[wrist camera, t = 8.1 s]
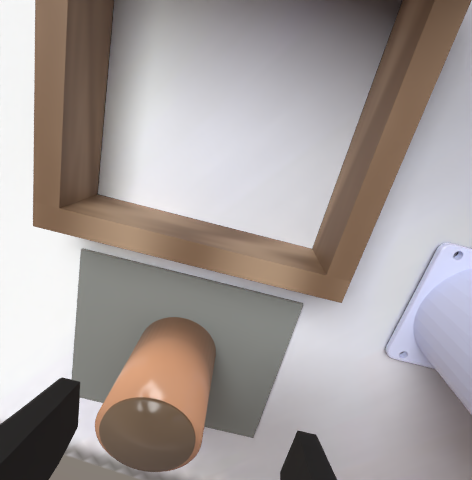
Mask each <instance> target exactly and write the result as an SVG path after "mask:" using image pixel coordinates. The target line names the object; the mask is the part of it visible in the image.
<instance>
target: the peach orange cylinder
mask: <svg viewBox="0 0 472 480" xmlns="http://www.w3.org/2000/svg"><path fill="white" fill-rule="evenodd" d="M215 357H216V347H215V344H214V341H213V339H212V337H211V335H210V334H209V333H208V332H207V331H206V330H205V329H204V328H203V327H202V326H200V325H199V324H197V323H196V322H193V321H191V320H188V319H185V318H180V317H168V318H163V319H160V320H157V321H155V322H153V323H152V324H150V325H149V326H148V327H147V328H146V329H145V331H144V332H143V334H142V335H141V337H140V339H139V341H138V343H137V344H136V346H135V348H134V350H133V352H132V353H131V355H130V357H129V359H128V360H127V362H126V364H125V366H124V368H123V369H122V371H121V373H120V375H119V376H118V378H117V380H116V382H115V384H114V385H113V387H112V389H111V391H110V392H109V394H108V396H107V398H106V400H105V401H104V403H103V405H102V407H101V408H100V410H99V412H98V414H97V417H96V421H95V431H96V435H97V438H98V440H99V442H100V444H101V445H102V447H103V448H104V449H105V450H106V451H107V452H108V453H109V454H110V455H111V456H112V457H113V458H115V459H116V460H117V461H119V462H121V463H122V464H124V465H126V466H129V467H131V468H134V469H137V470H142V471H148V472H162V471H170V470H174V469H177V468H180V467H182V466H184V465H186V464H187V463H189V462H190V461H191V460H192V459H193V458H194V457H195V456H196V455H197V453H198V452H199V449H200V447H201V443H202V437H203V430H204V424H205V418H206V412H207V406H208V400H209V394H210V388H211V381H212V375H213V369H214V363H215Z"/></svg>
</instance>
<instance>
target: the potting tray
mask: <svg viewBox="0 0 472 480" xmlns="http://www.w3.org/2000/svg"><path fill="white" fill-rule="evenodd" d="M470 2H471V0H403V1H402V3H401V6H400V9H399V12H398V14H397V17H396V20H395V23H394V25H393V28H392V31H391V34H390V36H389V39H388V42H387V45H386V47H385V50H384V53H383V56H382V58H381V61H380V64H379V67H378V69H377V72H376V75H375V78H374V80H373V83H372V86H371V89H370V91H369V94H368V97H367V100H366V102H365V105H364V108H363V111H362V113H361V116H360V119H359V122H358V125H357V127H356V130H355V133H354V136H353V138H352V141H351V144H350V147H349V149H348V152H347V155H346V158H345V160H344V163H343V166H342V169H341V171H340V174H339V177H338V180H337V182H336V185H335V188H334V191H333V193H332V196H331V199H330V202H329V204H328V207H327V210H326V213H325V215H324V218H323V221H322V224H321V226H320V229H319V232H318V235H317V237H316V240H315V243H314V246H313V248H312V249H310V248H306V247H302V246H299V245H295V244H291V243H287V242H283V241H279V240H275V239H271V238H267V237H263V236H259V235H255V234H251V233H247V232H243V231H240V230H236V229H232V228H228V227H224V226H220V225H216V224H212V223H208V222H204V221H200V220H196V219H192V218H188V217H184V216H180V215H177V214H173V213H169V212H165V211H161V210H157V209H153V208H149V207H145V206H141V205H137V204H133V203H129V202H125V201H121V200H118V199H114V198H110V197H106V196H102V195H98V194H97V192H98V180H99V169H100V157H101V145H102V134H103V122H104V111H105V99H106V87H107V76H108V64H109V52H110V41H111V29H112V18H113V6H114V0H35V92H34V185H33V226H35V227H39V228H43V229H47V230H51V231H55V232H59V233H63V234H67V235H71V236H75V237H79V238H83V239H87V240H91V241H95V242H99V243H103V244H107V245H111V246H115V247H119V248H123V249H127V250H131V251H135V252H139V253H143V254H147V255H151V256H155V257H159V258H163V259H167V260H171V261H175V262H179V263H183V264H187V265H191V266H195V267H199V268H203V269H207V270H211V271H215V272H219V273H223V274H227V275H231V276H235V277H239V278H243V279H247V280H251V281H255V282H259V283H263V284H267V285H271V286H275V287H279V288H283V289H287V290H291V291H296V292H300V293H304V294H308V295H312V296H316V297H320V298H324V299H328V300H332V301H336V302H340V303H342V301H343V298H344V296H345V294H346V291H347V289H348V287H349V284H350V282H351V280H352V277H353V275H354V273H355V270H356V268H357V266H358V264H359V261H360V259H361V257H362V254H363V252H364V250H365V247H366V245H367V243H368V240H369V238H370V236H371V233H372V231H373V229H374V226H375V224H376V222H377V219H378V217H379V215H380V212H381V210H382V208H383V205H384V203H385V201H386V198H387V196H388V194H389V191H390V189H391V187H392V184H393V182H394V180H395V177H396V175H397V173H398V170H399V168H400V166H401V163H402V161H403V159H404V156H405V154H406V152H407V149H408V147H409V145H410V142H411V140H412V138H413V135H414V133H415V131H416V128H417V126H418V124H419V121H420V119H421V117H422V114H423V112H424V110H425V107H426V105H427V103H428V100H429V98H430V96H431V93H432V91H433V89H434V86H435V84H436V82H437V79H438V77H439V75H440V72H441V70H442V68H443V65H444V63H445V61H446V58H447V56H448V54H449V51H450V49H451V47H452V44H453V42H454V40H455V37H456V35H457V33H458V30H459V28H460V26H461V23H462V21H463V19H464V16H465V14H466V12H467V9H468V7H469V5H470Z"/></svg>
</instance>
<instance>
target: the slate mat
mask: <svg viewBox="0 0 472 480" xmlns="http://www.w3.org/2000/svg"><path fill="white" fill-rule="evenodd" d="M302 307H303V303H300V302H296V301H292V300H288V299H284V298H280V297H276V296H272V295H268V294H264V293H260V292H256V291H252V290H248V289H244V288H240V287H236V286H232V285H228V284H224V283H220V282H216V281H212V280H207V279H203V278H199V277H195V276H191V275H187V274H183V273H179V272H175V271H171V270H167V269H163V268H159V267H155V266H151V265H147V264H143V263H139V262H135V261H131V260H127V259H123V258H119V257H115V256H111V255H107V254H103V253H99V252H95V251H91V250H87V249H81V257H80V271H79V284H78V298H77V312H76V326H75V340H74V354H73V368H72V380H75V381H79V382H80V398H85V399H89V400H93V401H97V402H102V403H104V401H105V400H106V398H107V396H108V394H109V392H110V391H111V389H112V387H113V385H114V384H115V382H116V380H117V378H118V376H119V375H120V373H121V371H122V369H123V368H124V366H125V364H126V362H127V360H128V359H129V357H130V355H131V353H132V352H133V350H134V348H135V346H136V344H137V343H138V341H139V339H140V337H141V335H142V334H143V332H144V331H145V329H146V328H147V327H148V326H149V325H150V324H152V323H153V322H155V321H157V320H160V319H163V318H168V317H180V318H185V319H188V320H191V321H193V322H196V323H197V324H199V325H200V326H202V327H203V328H204V329H205V330H206V331H207V332H208V333H209V334H210V335H211V337H212V339H213V341H214V344H215V347H216V357H215V363H214V369H213V375H212V381H211V388H210V394H209V400H208V406H207V412H206V418H205V424H204V427H209V428H213V429H217V430H221V431H226V432H230V433H234V434H239V435H243V436H247V437H251V438H253V436H254V434H255V431H256V428H257V426H258V423H259V421H260V418H261V415H262V413H263V410H264V407H265V405H266V402H267V399H268V397H269V394H270V391H271V389H272V386H273V384H274V381H275V378H276V376H277V373H278V370H279V368H280V365H281V362H282V360H283V357H284V354H285V352H286V349H287V346H288V344H289V341H290V339H291V336H292V333H293V331H294V328H295V325H296V323H297V320H298V317H299V315H300V312H301V309H302Z"/></svg>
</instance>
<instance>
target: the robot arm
mask: <svg viewBox="0 0 472 480" xmlns="http://www.w3.org/2000/svg"><path fill="white" fill-rule="evenodd" d="M457 251H459V252H458V255H457V256H455V257H453V255H454V253H455V252H457ZM385 350H386V353H387V355H388V356H389V357H390V358H392V359H396V360H401V361H405V362H409V363H413V364H417V365H421V366H425V367H429V368H433V369H436V370H437V372H438V373H439V374H440V375H441V377H442V378H443V379H444V381H445V382H446V383H447V384H448V386H449V387H450V388H451V389H452V391H453V392H454V393H455V394H456V396H457V397H458V398H459V400H460V401H461V402H462V403H463V405H464V406H465V407H466V408H467V410H468V411H469V412H470V414H471V415H472V248H468V247H464V246H460V245H456V244H452V243H444V244H442V245H440V246H439V247H438V248H437V250H436V252H435V254H434V256H433V258H432V260H431V262H430V264H429V266H428V268H427V269H426V271H425V273H424V275H423V277H422V279H421V281H420V283H419V285H418V287H417V289H416V291H415V293H414V294H413V296H412V298H411V300H410V302H409V304H408V306H407V308H406V310H405V312H404V314H403V316H402V318H401V319H400V321H399V323H398V325H397V327H396V329H395V331H394V333H393V335H392V337H391V339H390V341H389V343H388V344H387V346H386V349H385ZM403 351H404V352H403ZM401 352H403V353H402V354H400V353H401ZM79 398H80V382H79V381H75V380H70V379H66V378H60V379H58V380H57V381H56V382H55V383H53V384H52V385H51V386H50V387H48V388H47V389H46V390H44V391H43V392H42V393H41V394H39V395H38V396H37V397H36V398H34V399H33V400H32V401H30V402H29V403H28V404H27V405H25V406H24V407H23V408H21V409H20V410H19V411H17V412H16V413H15V414H14V415H12V416H11V417H9V418H8V419H7V420H5V421H4V422H3V423H1V424H0V480H49V478H50V477H51V475H52V473H53V472H54V470H55V468H56V467H57V465H58V464H59V462H60V460H61V458H62V456H63V455H64V453H65V451H66V449H67V447H68V445H69V443H70V441H71V439H72V437H73V435H74V433H75V431H76V429H77V427H78V415H79ZM280 480H337V478H336V476H335V474H334V472H333V470H332V468H331V466H330V464H329V461H328V459H327V457H326V455H325V453H324V450H323V448H322V446H321V444H320V442H319V439H318V437H317V436H316V435H315V434H310V433H306V432H301V431H297V433H296V436H295V438H294V440H293V443H292V445H291V448H290V450H289V452H288V455H287V457H286V460H285V462H284V464H283V467H282V469H281V472H280Z"/></svg>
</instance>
